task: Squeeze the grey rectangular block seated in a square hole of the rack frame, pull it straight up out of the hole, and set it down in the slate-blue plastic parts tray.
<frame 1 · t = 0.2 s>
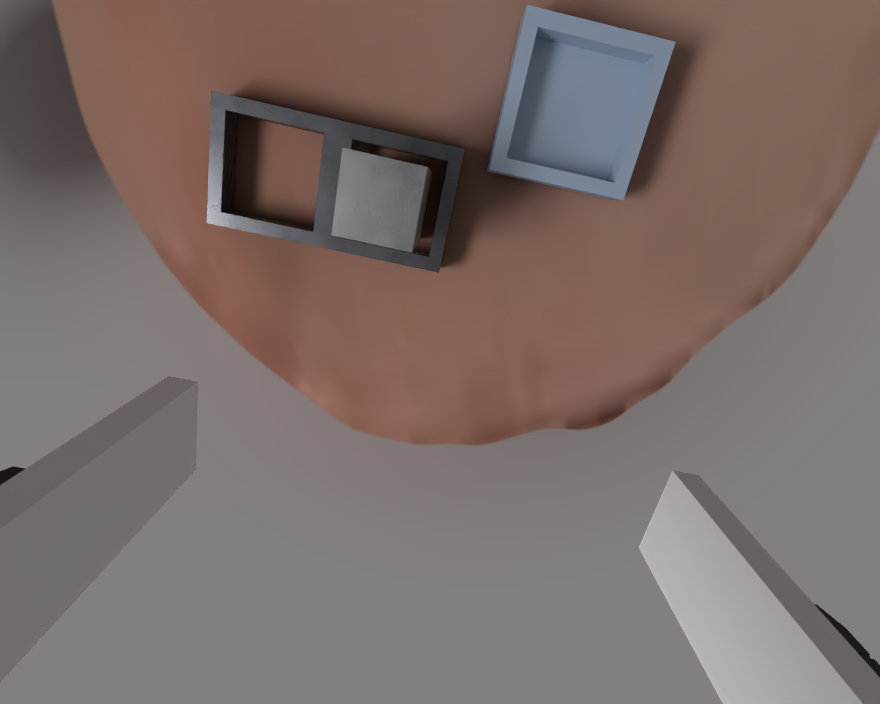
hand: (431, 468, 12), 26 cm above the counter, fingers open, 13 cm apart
parts tray: (569, 114, 33), on the counter
grey rectangular block: (395, 200, 35), resting in rack frame
rack frame: (338, 187, 35), on the counter
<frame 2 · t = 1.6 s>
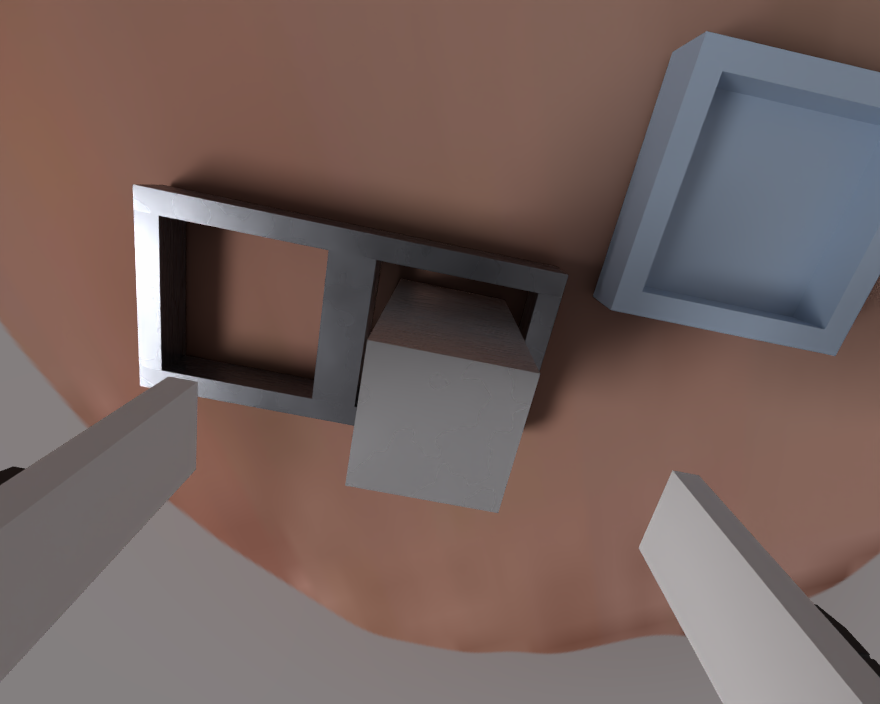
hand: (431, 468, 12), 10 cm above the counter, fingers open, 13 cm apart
parts tray: (739, 209, 20), on the counter
grey rectangular block: (442, 338, 22), resting in rack frame
rack frame: (351, 320, 22), on the counter
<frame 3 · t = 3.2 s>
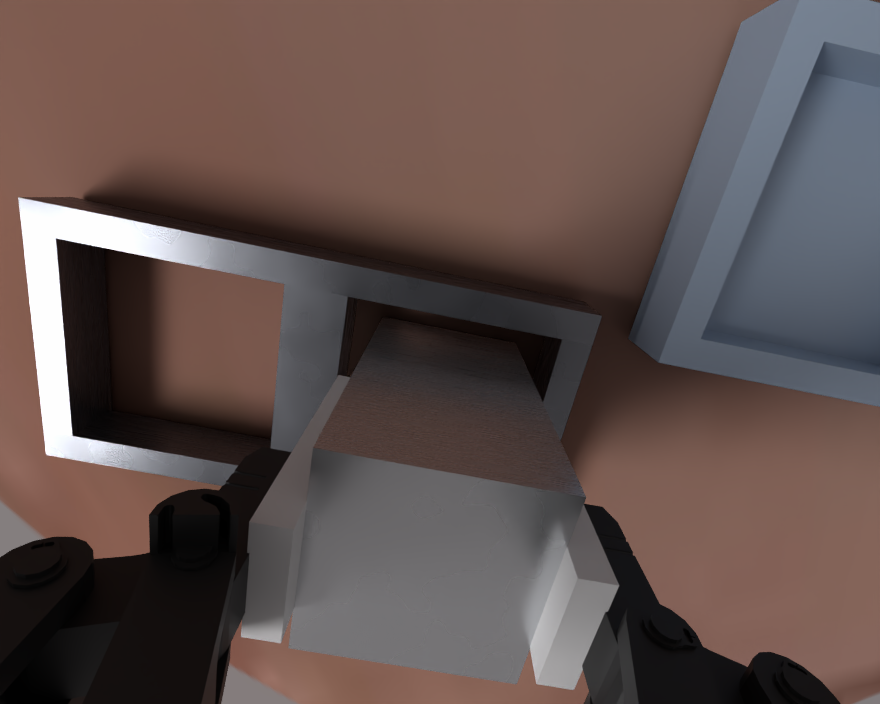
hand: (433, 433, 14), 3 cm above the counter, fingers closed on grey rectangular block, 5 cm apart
parts tray: (820, 228, 15), on the counter
grey rectangular block: (436, 390, 17), resting in rack frame, touching gripper
rack frame: (321, 368, 17), on the counter
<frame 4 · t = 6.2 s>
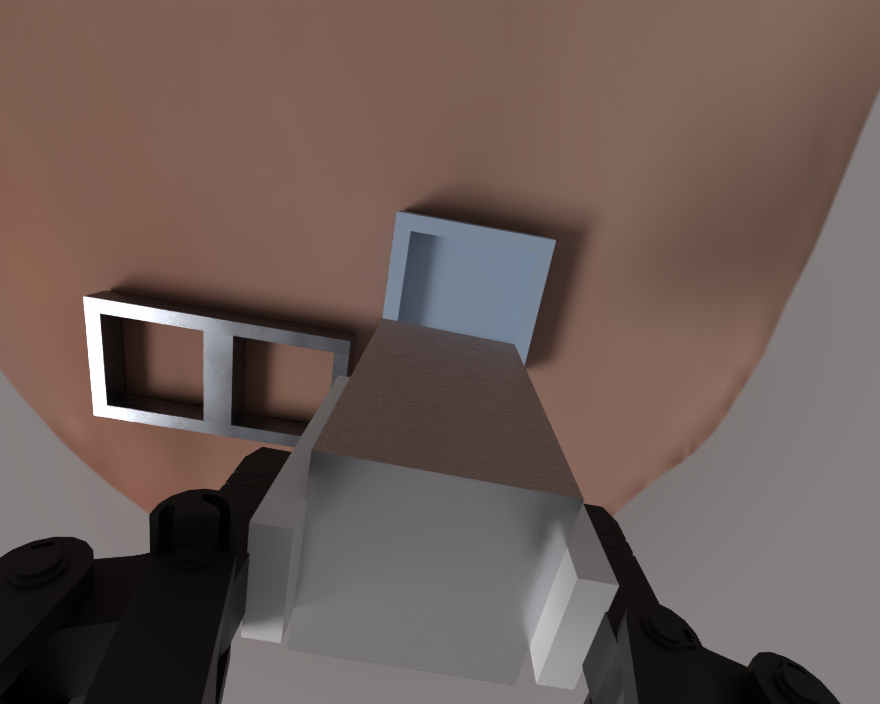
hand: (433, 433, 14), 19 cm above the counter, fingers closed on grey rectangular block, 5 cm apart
parts tray: (460, 296, 32), on the counter
grey rectangular block: (435, 391, 17), point 15 cm above the counter, touching gripper
rack frame: (230, 369, 34), on the counter
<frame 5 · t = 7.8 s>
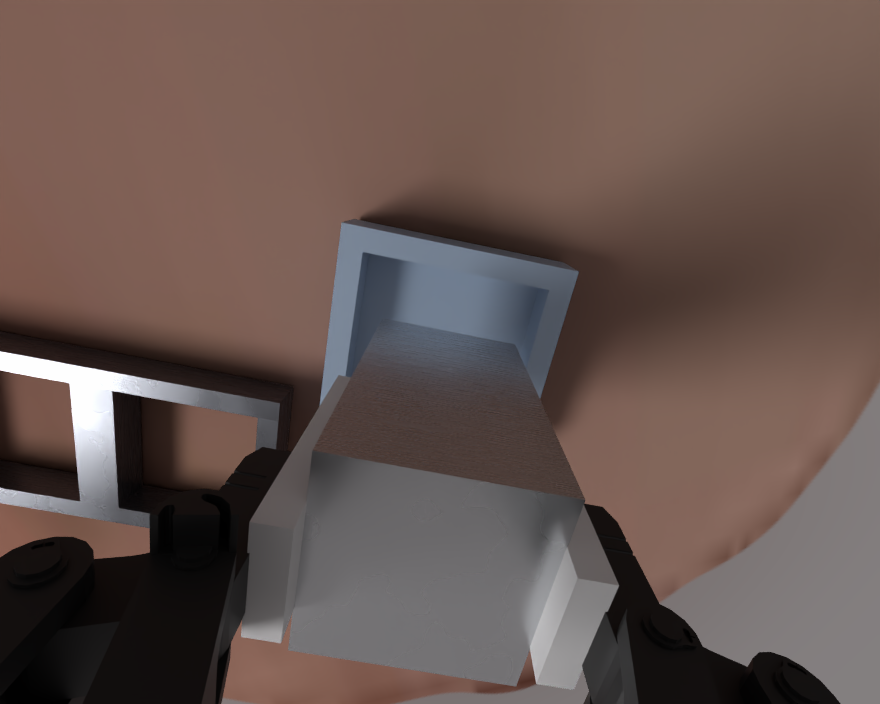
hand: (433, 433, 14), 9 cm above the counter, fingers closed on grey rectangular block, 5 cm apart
parts tray: (439, 341, 22), on the counter
grey rectangular block: (436, 391, 17), point 6 cm above the counter, touching gripper
rack frame: (122, 429, 25), on the counter
when the fingers open (6 cm above the counter, at t = 9.0 s): grey rectangular block drops 2 cm, resting on parts tray.
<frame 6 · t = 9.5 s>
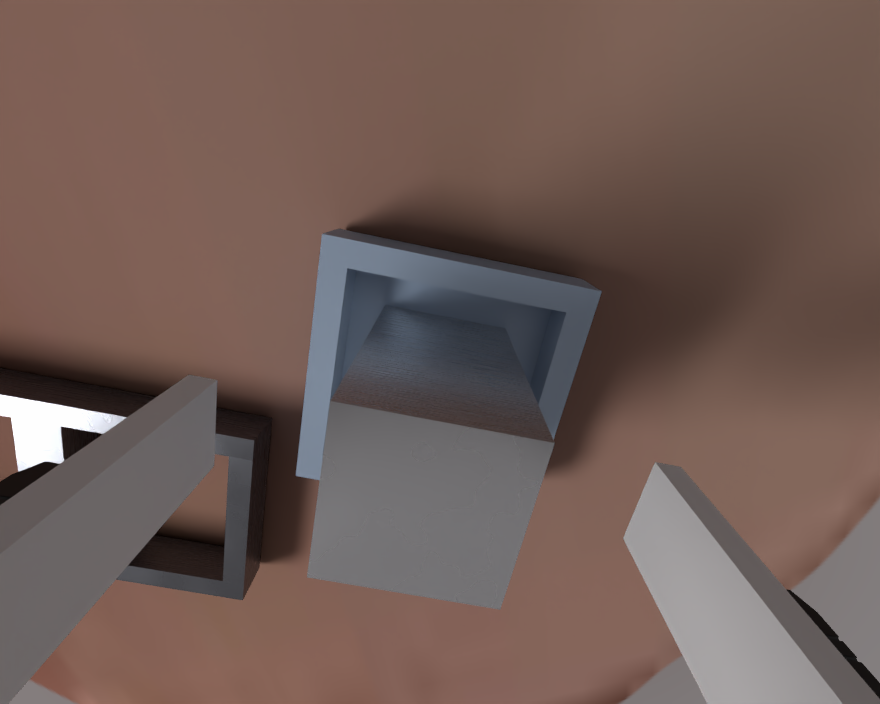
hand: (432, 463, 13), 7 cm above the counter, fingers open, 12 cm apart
parts tray: (437, 367, 20), on the counter
grey rectangular block: (434, 372, 19), point 1 cm above the counter, touching parts tray
rack frame: (79, 465, 22), on the counter
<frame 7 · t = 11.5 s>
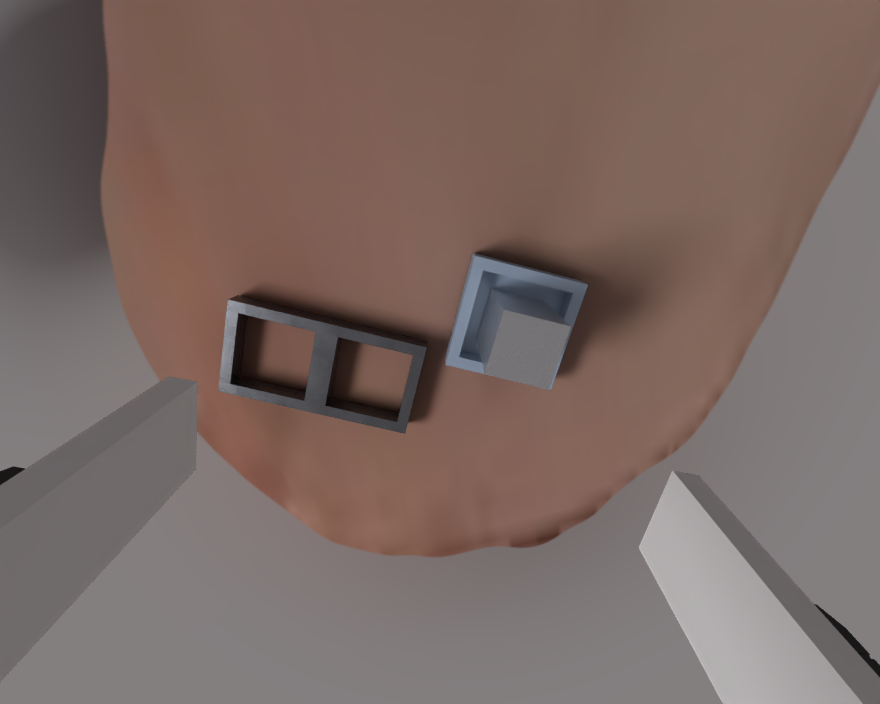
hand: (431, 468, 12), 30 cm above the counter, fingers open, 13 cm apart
parts tray: (510, 319, 42), on the counter
grey rectangular block: (510, 320, 41), point 1 cm above the counter, touching parts tray
rack frame: (326, 362, 43), on the counter
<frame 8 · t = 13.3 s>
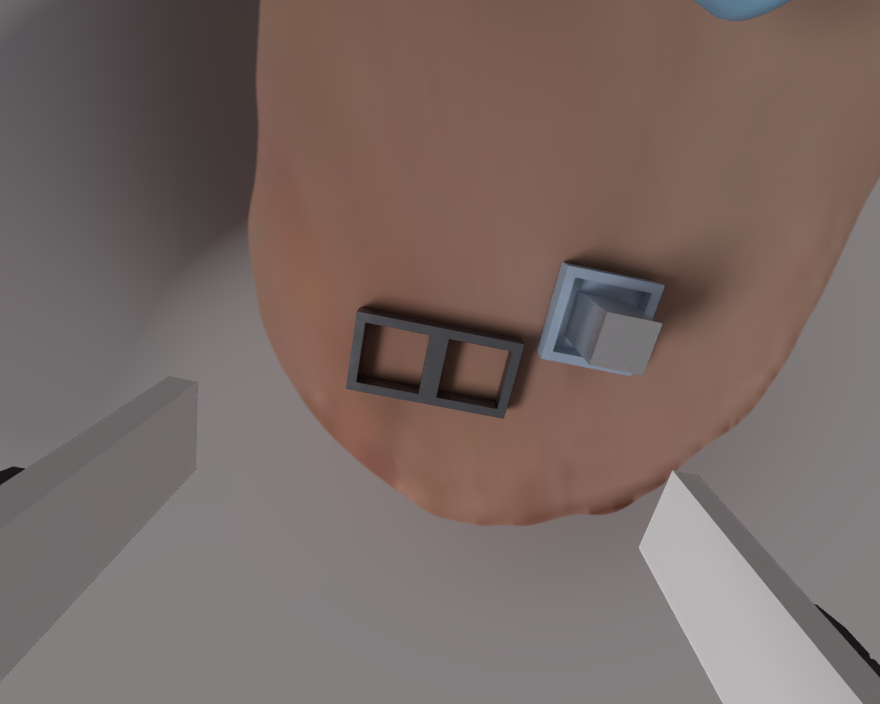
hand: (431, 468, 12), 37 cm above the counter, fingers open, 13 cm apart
parts tray: (593, 316, 48), on the counter
grey rectangular block: (594, 318, 48), point 1 cm above the counter, touching parts tray
rack frame: (433, 360, 50), on the counter
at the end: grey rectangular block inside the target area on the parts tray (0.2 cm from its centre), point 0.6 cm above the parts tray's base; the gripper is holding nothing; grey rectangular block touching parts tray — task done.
